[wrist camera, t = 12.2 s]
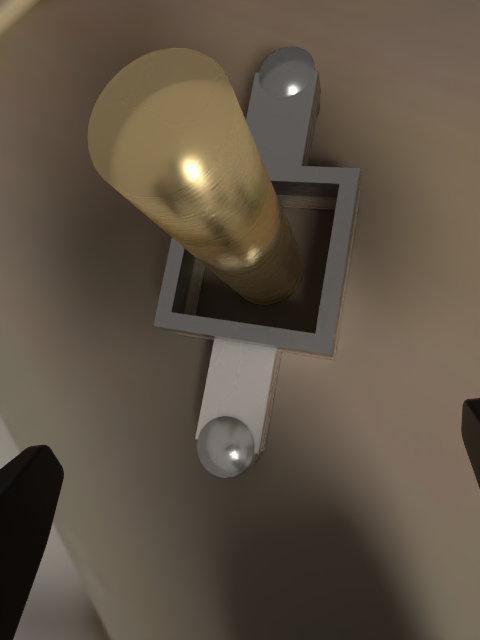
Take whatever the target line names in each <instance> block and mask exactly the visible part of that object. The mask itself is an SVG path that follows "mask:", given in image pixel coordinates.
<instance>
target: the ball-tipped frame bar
mask: <svg viewBox="0 0 480 640" xmlns="http://www.w3.org/2000/svg"><path fill="white" fill-rule="evenodd" d="M320 93H321V89H320V81H319V74H318V71H315V66H314V61H313V58H312V56H311V55H310V54H309V53H308V52H307V51H306V50H304V49H302V48H300V47H294V46H290V47H284V48H281V49H278V50H276V51H275V52H273V53H272V54H270V55H269V56H268V57H267V58H266V59H265V61H264V62H263V64H262V65H261V68H260V71H259V72H258V73H255V77H254V82H253V87H252V92H251V97H250V102H249V107H248V112H247V117H246V122H247V124H248V127H249V129H250V132H251V134H252V137H253V139H254V141H255V144H256V146H257V149H258V151H259V154H260V156H261V158H262V161H263V163H264V166H265V168H266V171H267V173H268V175H269V178H270V180H271V183H272V185H273V188H274V190H275V192H276V195H277V197H278V200H279V202H280V205H281V207H290V208H305V209H321V210H335V215H334V221H333V227H332V233H331V240H330V246H329V252H328V258H327V264H326V270H325V277H324V283H323V289H322V295H321V301H320V307H319V314H318V320H317V326H316V332H315V333H308V332H301V331H294V330H288V329H281V328H274V327H267V326H261V325H254V324H247V323H240V322H234V321H227V320H220V319H213V318H207V317H200V316H195V315H196V310H197V305H198V300H199V295H200V290H201V285H202V280H203V275H204V270H205V265H204V264H203V263H201V262H200V261H199V260H198V259H197V258H196V257H194V256H193V255H192V254H191V253H190V252H189V251H187V250H186V249H185V248H184V247H183V246H182V245H180V244H179V243H178V242H177V241H176V240H174V239H173V238H172V239H171V244H170V248H169V253H168V258H167V263H166V267H165V272H164V277H163V282H162V286H161V291H160V296H159V301H158V305H157V310H156V315H155V319H154V324H153V326H154V327H157V328H160V329H163V330H166V331H169V332H172V333H175V334H178V335H184V336H190V337H196V338H202V339H208V340H214V343H213V349H212V354H211V359H210V364H209V369H208V375H207V380H206V385H205V390H204V396H203V401H202V406H201V411H200V416H199V422H198V427H197V432H196V437H195V439H198V440H197V453H198V457H199V459H200V461H201V463H202V465H203V466H204V467H205V469H206V470H207V471H209V472H210V473H211V474H213V475H215V476H218V477H222V478H229V477H234V476H236V475H238V474H240V473H242V472H243V471H245V470H246V469H248V468H249V467H251V466H252V465H253V464H254V463H255V462H256V460H257V459H258V457H259V454H260V453H261V452H262V451H264V450H265V446H266V440H267V435H268V429H269V423H270V417H271V411H272V405H273V400H274V394H275V388H276V382H277V376H278V370H279V365H280V359H281V353H282V352H287V353H293V354H300V355H306V356H312V357H318V358H324V359H330V360H335V356H336V349H337V343H338V337H339V330H340V324H341V317H342V311H343V304H344V298H345V291H346V285H347V279H348V272H349V266H350V259H351V253H352V246H353V240H354V233H355V227H356V221H357V214H358V208H359V201H360V168H344V167H314V166H308V162H309V157H310V151H311V145H312V139H313V134H314V128H315V122H316V118H317V116H318V114H319V110H320V102H319V99H320Z"/></svg>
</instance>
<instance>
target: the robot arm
mask: <svg viewBox="0 0 480 640" xmlns="http://www.w3.org/2000/svg"><path fill="white" fill-rule="evenodd" d="M461 432H462V438H463V442H464V445H465V448H466V451H467V453H468V456H469V459H470V462H471V465H472V468H473V471H474V473H475V476H476V479H477V482H478V485H479V488H480V398H475V399H467V400H465V401H464V403H463V409H462V426H461ZM63 478H64V471H63V467H62V466H61V464H60V462H59V461H58V459H57V458H56V456H55V455H54V453H53V451H52V450H51V448H50V447H49V446H47V445H37V446H30V447H28V448H26V449H25V450H24V451H23V452H21V453H20V454H19V455H18V456H16V457H15V458H14V459H13V460H11V461H10V462H9V463H8V464H6V465H5V466H4V467H3V468H1V469H0V640H13V638H14V635H15V633H16V630H17V627H18V624H19V621H20V619H21V616H22V613H23V610H24V607H25V604H26V602H27V599H28V596H29V593H30V590H31V588H32V585H33V582H34V579H35V576H36V573H37V571H38V568H39V565H40V562H41V559H42V557H43V553H44V550H45V548H46V544H47V541H48V537H49V534H50V530H51V526H52V522H53V518H54V514H55V510H56V506H57V502H58V498H59V494H60V491H61V487H62V483H63Z"/></svg>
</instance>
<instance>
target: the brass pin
mask: <svg viewBox="0 0 480 640" xmlns="http://www.w3.org/2000/svg"><path fill="white" fill-rule="evenodd" d="M88 149H89V154H90V157H91V160H92V162H93V165H94V167H95V169H96V170H97V172H98V173H99V174H100V176H101V177H102V178H103V179H104V180H105V181H106V182H107V183H109V184H110V185H111V186H112V187H113V188H114V189H116V190H117V191H118V192H119V193H120V194H122V195H123V196H124V197H125V198H126V199H127V200H129V201H130V202H131V203H132V204H133V205H134V206H136V207H137V208H138V209H139V210H140V211H142V212H143V213H144V214H145V215H146V216H147V217H149V218H150V219H151V220H152V221H153V222H154V223H156V224H157V225H158V226H159V227H160V228H162V229H163V230H164V231H165V232H166V233H167V234H169V235H170V236H171V237H172V238H173V239H174V240H176V241H177V242H178V243H179V244H180V245H182V246H183V247H184V248H185V249H186V250H187V251H189V252H190V253H191V254H192V255H193V256H194V257H196V258H197V259H198V260H199V261H200V262H201V263H203V264H204V265H205V266H206V267H207V268H209V269H210V270H211V271H212V272H213V273H214V274H216V275H217V276H218V277H219V278H220V279H221V280H223V281H224V282H225V283H226V284H227V285H229V286H230V287H231V288H232V289H233V290H234V291H236V292H237V293H238V294H239V295H240V296H242V297H243V298H244V299H246V300H247V301H249V302H251V303H254V304H259V305H270V304H274V303H278V302H280V301H282V300H284V299H286V298H287V297H288V296H290V295H291V294H292V293H293V292H294V290H295V289H296V288H297V286H298V285H299V283H300V280H301V278H302V274H303V259H302V256H301V253H300V251H299V248H298V246H297V243H296V241H295V239H294V236H293V234H292V231H291V229H290V226H289V224H288V222H287V219H286V217H285V214H284V212H283V209H282V207H281V205H280V202H279V200H278V197H277V195H276V192H275V190H274V188H273V185H272V183H271V180H270V178H269V175H268V173H267V171H266V168H265V166H264V163H263V161H262V158H261V156H260V154H259V151H258V149H257V146H256V144H255V141H254V139H253V137H252V134H251V132H250V129H249V127H248V124H247V122H246V120H245V117H244V115H243V112H242V110H241V107H240V105H239V103H238V100H237V98H236V95H235V93H234V90H233V88H232V86H231V83H230V81H229V78H228V76H227V75H226V73H225V72H224V70H223V69H222V68H221V66H220V65H219V64H218V63H217V62H216V61H214V60H213V59H212V58H211V57H209V56H207V55H205V54H204V53H201V52H198V51H196V50H192V49H187V48H167V49H162V50H157V51H154V52H151V53H148V54H146V55H144V56H141V57H139V58H138V59H136V60H134V61H132V62H131V63H130V64H128V65H127V66H125V67H124V68H123V69H122V70H121V71H119V72H118V73H117V74H116V75H115V76H114V77H113V78H112V79H111V80H110V81H109V83H108V84H107V85H106V87H105V88H104V89H103V91H102V92H101V94H100V96H99V97H98V99H97V101H96V103H95V105H94V108H93V111H92V113H91V117H90V121H89V125H88Z"/></svg>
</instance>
